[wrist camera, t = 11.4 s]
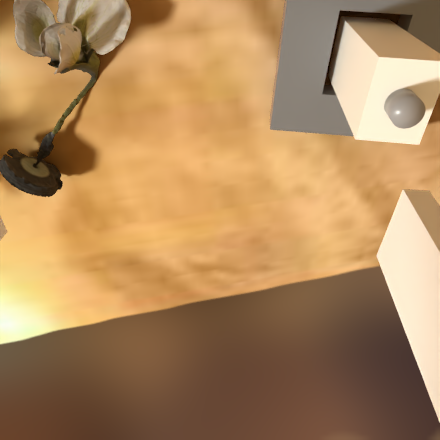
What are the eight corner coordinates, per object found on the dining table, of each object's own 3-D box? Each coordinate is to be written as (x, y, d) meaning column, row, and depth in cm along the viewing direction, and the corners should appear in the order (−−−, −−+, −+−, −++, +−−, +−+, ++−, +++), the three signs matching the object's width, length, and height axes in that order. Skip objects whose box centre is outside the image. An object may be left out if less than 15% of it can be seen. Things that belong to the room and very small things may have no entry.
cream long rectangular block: (328, 75, 35) (360, 150, 22) (340, 16, 32) (385, 64, 19) (371, 78, 34) (427, 156, 22) (388, 19, 31) (464, 70, 19)
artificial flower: (12, 140, 44) (-66, 157, 35) (104, -35, 35) (30, -73, 26) (68, 190, 45) (5, 219, 36) (174, 32, 35) (125, 18, 26)
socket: (270, 117, 38) (270, 130, 35) (291, -52, 29) (293, -51, 27) (409, 128, 37) (419, 142, 34) (473, -43, 28) (493, -41, 26)
